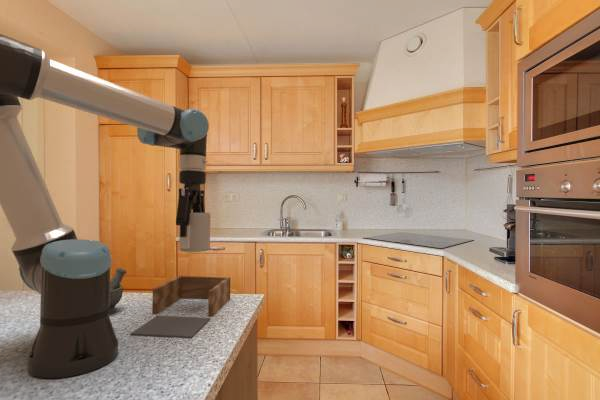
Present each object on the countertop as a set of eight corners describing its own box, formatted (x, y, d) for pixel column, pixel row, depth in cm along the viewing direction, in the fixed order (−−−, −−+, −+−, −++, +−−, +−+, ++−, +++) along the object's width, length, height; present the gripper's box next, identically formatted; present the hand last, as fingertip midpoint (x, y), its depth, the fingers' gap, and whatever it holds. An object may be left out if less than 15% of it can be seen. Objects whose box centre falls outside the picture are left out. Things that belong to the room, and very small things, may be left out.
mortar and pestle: (92, 320, 92) (93, 275, 92) (76, 313, 98) (77, 270, 98) (133, 310, 101) (134, 269, 101) (117, 304, 107) (117, 265, 107)
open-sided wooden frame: (212, 316, 97) (212, 291, 97) (152, 313, 98) (152, 289, 98) (230, 298, 115) (230, 277, 115) (178, 296, 116) (179, 275, 116)
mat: (191, 338, 82) (191, 336, 82) (130, 335, 83) (130, 333, 83) (210, 319, 95) (210, 317, 95) (157, 317, 96) (157, 315, 96)
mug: (215, 250, 103) (216, 213, 103) (188, 252, 97) (189, 213, 97) (194, 245, 112) (195, 211, 112) (169, 248, 106) (170, 211, 106)
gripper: (190, 167, 93) (188, 251, 93) (216, 174, 114) (215, 242, 114) (163, 166, 93) (161, 250, 93) (194, 173, 115) (192, 241, 115)
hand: (191, 246), depth 104 cm, fingers closed on mug, 9 cm apart
